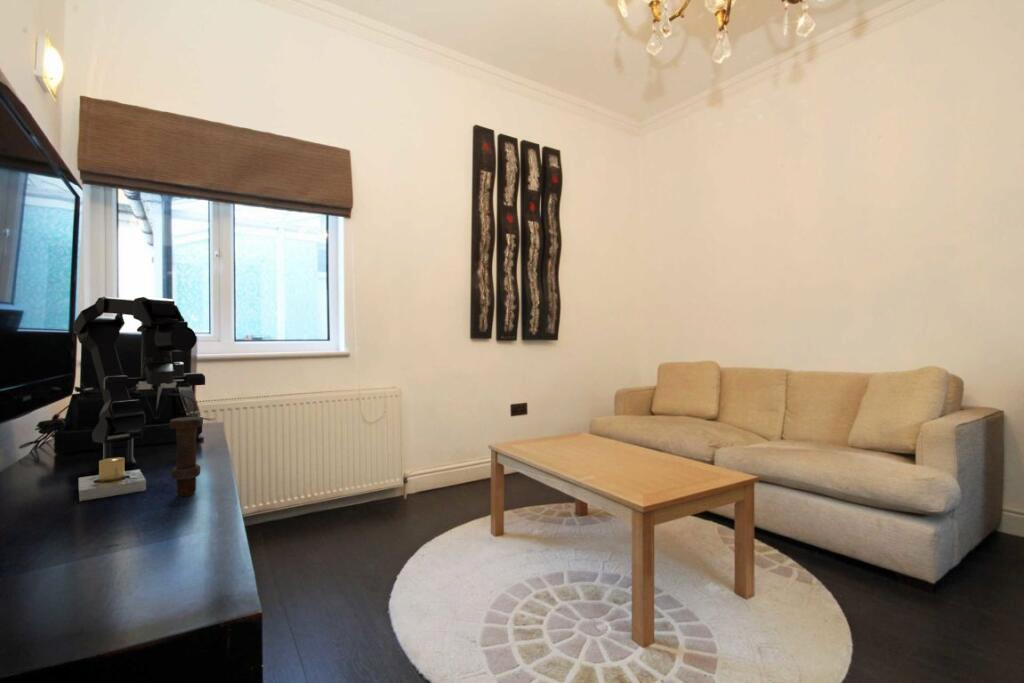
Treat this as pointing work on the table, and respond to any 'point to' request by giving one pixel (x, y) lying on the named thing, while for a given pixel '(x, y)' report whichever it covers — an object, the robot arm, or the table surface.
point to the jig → (111, 486)
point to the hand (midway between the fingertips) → (156, 417)
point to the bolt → (186, 454)
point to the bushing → (111, 470)
